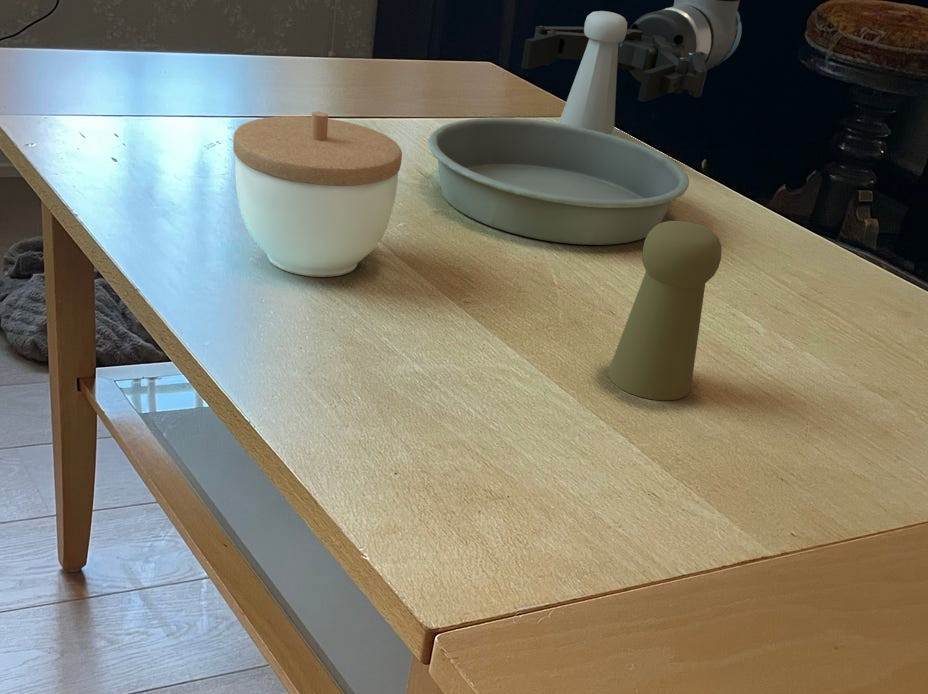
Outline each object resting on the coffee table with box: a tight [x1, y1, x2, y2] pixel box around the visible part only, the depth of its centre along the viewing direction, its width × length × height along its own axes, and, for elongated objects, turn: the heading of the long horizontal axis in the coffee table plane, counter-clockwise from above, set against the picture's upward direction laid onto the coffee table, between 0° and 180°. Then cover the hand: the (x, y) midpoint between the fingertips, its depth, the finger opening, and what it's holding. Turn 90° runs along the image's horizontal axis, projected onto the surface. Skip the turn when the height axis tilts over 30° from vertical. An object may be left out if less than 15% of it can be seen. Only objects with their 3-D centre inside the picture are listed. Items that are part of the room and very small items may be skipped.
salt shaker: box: [559, 10, 628, 135], centre depth 121 cm, size 6×6×13 cm
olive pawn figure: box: [607, 220, 722, 401], centre depth 79 cm, size 6×6×11 cm
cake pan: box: [427, 117, 690, 246], centre depth 109 cm, size 25×25×4 cm
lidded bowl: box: [232, 111, 403, 278], centre depth 89 cm, size 13×13×11 cm
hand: (583, 70), depth 118 cm, fingers open, 13 cm apart
